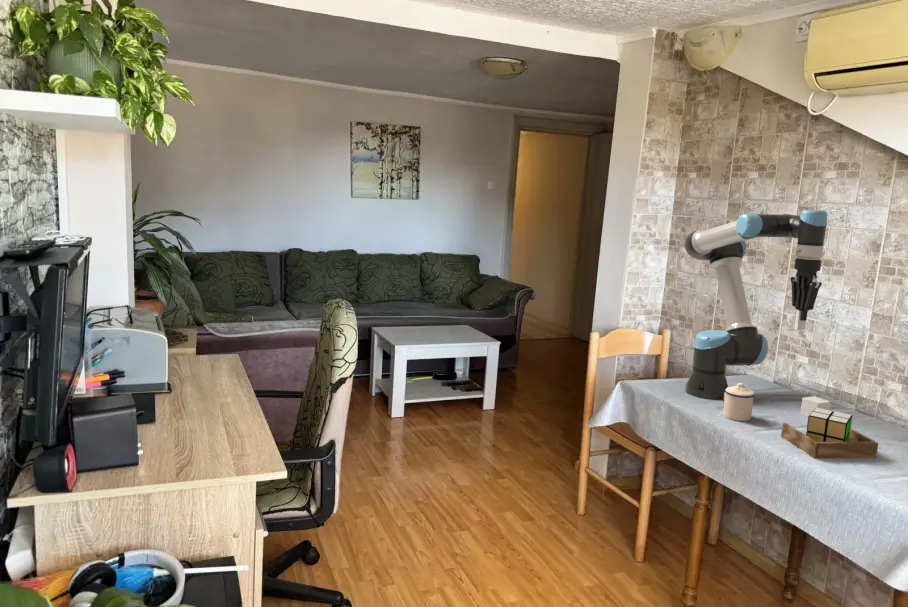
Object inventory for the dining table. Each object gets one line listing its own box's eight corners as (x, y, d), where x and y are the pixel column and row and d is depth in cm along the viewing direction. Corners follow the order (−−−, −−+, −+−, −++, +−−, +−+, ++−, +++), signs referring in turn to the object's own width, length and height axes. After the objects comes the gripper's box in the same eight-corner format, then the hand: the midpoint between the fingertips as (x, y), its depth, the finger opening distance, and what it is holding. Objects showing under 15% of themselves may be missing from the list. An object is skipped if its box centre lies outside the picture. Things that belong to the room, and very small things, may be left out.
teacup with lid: (757, 421, 212) (761, 387, 210) (733, 422, 210) (737, 388, 208) (735, 408, 224) (738, 376, 222) (711, 410, 222) (715, 377, 220)
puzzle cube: (811, 437, 199) (815, 406, 197) (848, 446, 193) (852, 414, 191) (804, 447, 192) (808, 415, 190) (842, 456, 185) (847, 423, 184)
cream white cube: (828, 418, 217) (830, 401, 216) (815, 420, 215) (818, 403, 214) (812, 412, 222) (815, 396, 221) (800, 414, 220) (802, 397, 219)
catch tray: (781, 436, 199) (782, 423, 198) (838, 436, 201) (840, 422, 200) (813, 458, 183) (815, 443, 182) (876, 457, 185) (878, 443, 184)
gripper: (785, 255, 213) (777, 325, 217) (810, 260, 200) (800, 333, 205) (806, 256, 214) (798, 325, 218) (832, 260, 201) (823, 334, 205)
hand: (799, 329), depth 211 cm, fingers closed
